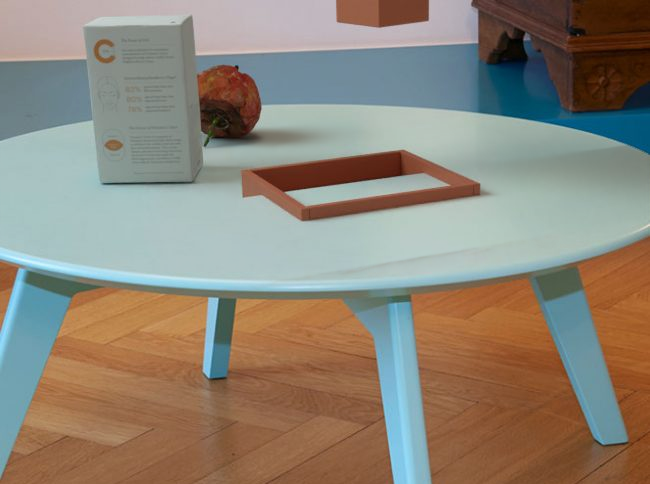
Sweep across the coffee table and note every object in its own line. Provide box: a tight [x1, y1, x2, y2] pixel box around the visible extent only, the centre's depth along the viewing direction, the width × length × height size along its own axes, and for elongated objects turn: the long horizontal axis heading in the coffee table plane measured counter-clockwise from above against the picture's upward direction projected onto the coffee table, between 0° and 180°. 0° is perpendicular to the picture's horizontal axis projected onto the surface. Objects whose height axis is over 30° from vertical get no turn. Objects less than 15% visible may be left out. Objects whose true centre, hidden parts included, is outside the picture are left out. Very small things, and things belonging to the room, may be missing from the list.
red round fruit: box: [197, 64, 263, 148], centre depth 108 cm, size 7×7×10 cm
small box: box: [82, 14, 204, 184], centre depth 95 cm, size 8×6×13 cm
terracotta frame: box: [240, 149, 481, 222], centre depth 86 cm, size 14×12×3 cm
